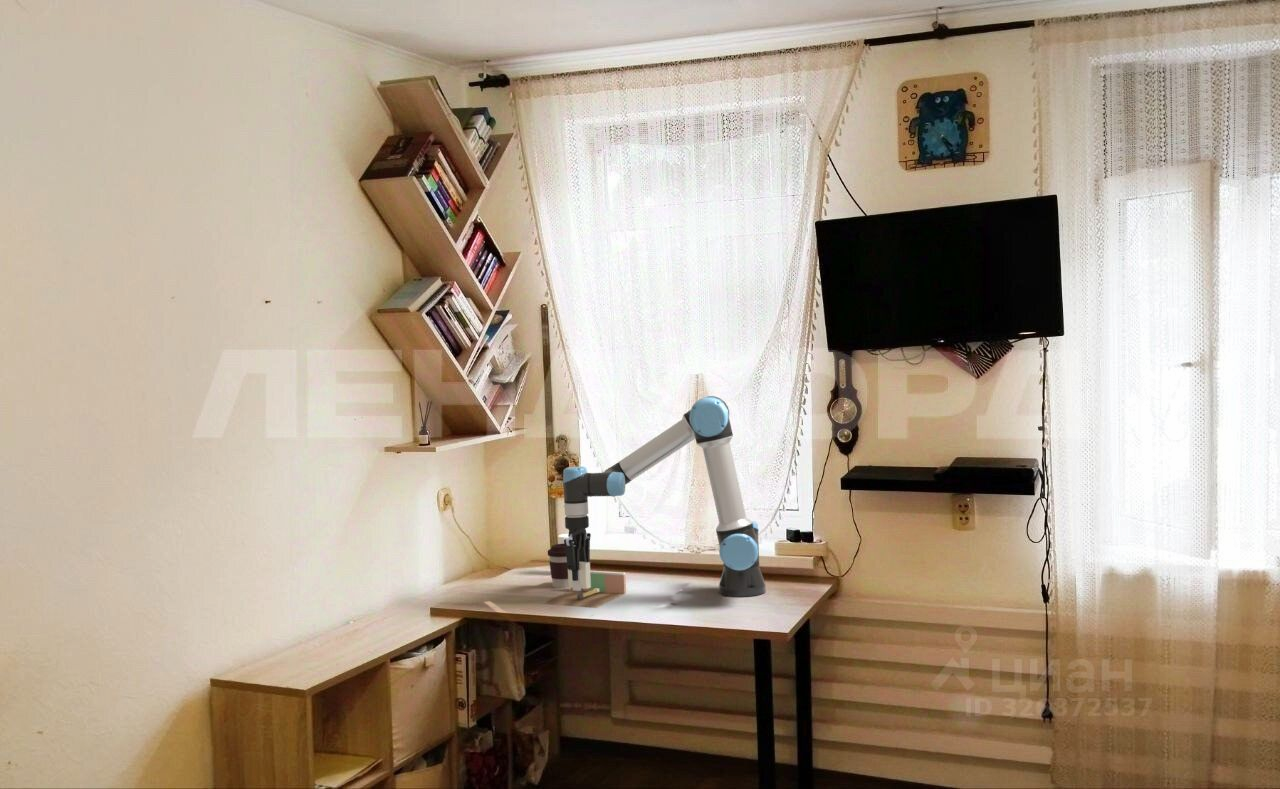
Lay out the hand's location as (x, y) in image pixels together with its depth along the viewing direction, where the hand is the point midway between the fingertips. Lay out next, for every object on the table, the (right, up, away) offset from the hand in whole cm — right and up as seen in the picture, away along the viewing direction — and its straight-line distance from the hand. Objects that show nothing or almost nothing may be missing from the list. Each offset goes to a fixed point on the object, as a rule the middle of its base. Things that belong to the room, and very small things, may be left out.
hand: (579, 589), depth 323 cm
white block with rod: (+2, -3, +4) cm, 6 cm away
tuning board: (+1, -5, +2) cm, 5 cm away
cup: (-6, -4, +47) cm, 47 cm away
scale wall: (+5, -3, +11) cm, 12 cm away
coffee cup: (-7, -5, +22) cm, 24 cm away
